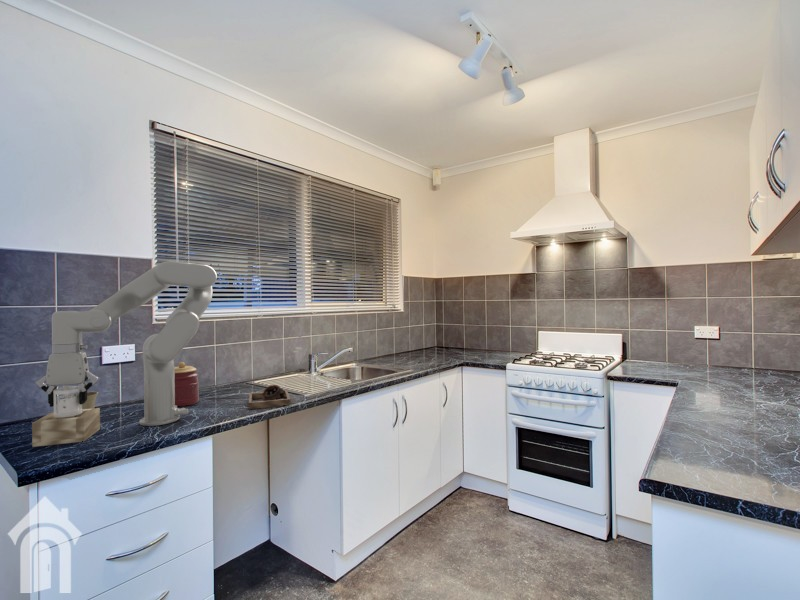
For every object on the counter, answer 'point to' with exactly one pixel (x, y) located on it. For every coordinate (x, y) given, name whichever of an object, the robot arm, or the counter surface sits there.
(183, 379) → the canister
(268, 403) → the wooden tray
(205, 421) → the counter surface
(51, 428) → the beech holder block
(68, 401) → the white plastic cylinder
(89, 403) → the flower pot
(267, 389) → the dark brown rounded lump
